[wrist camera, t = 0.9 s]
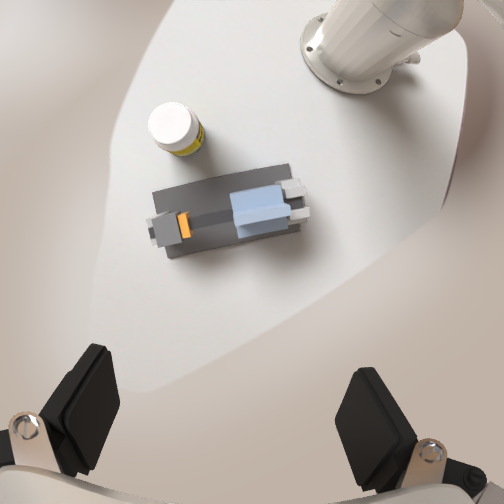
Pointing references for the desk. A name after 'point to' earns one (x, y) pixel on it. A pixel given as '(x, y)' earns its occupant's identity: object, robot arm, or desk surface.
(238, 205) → the light blue step block
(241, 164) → the desk surface
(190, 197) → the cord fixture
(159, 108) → the supplement bottle
